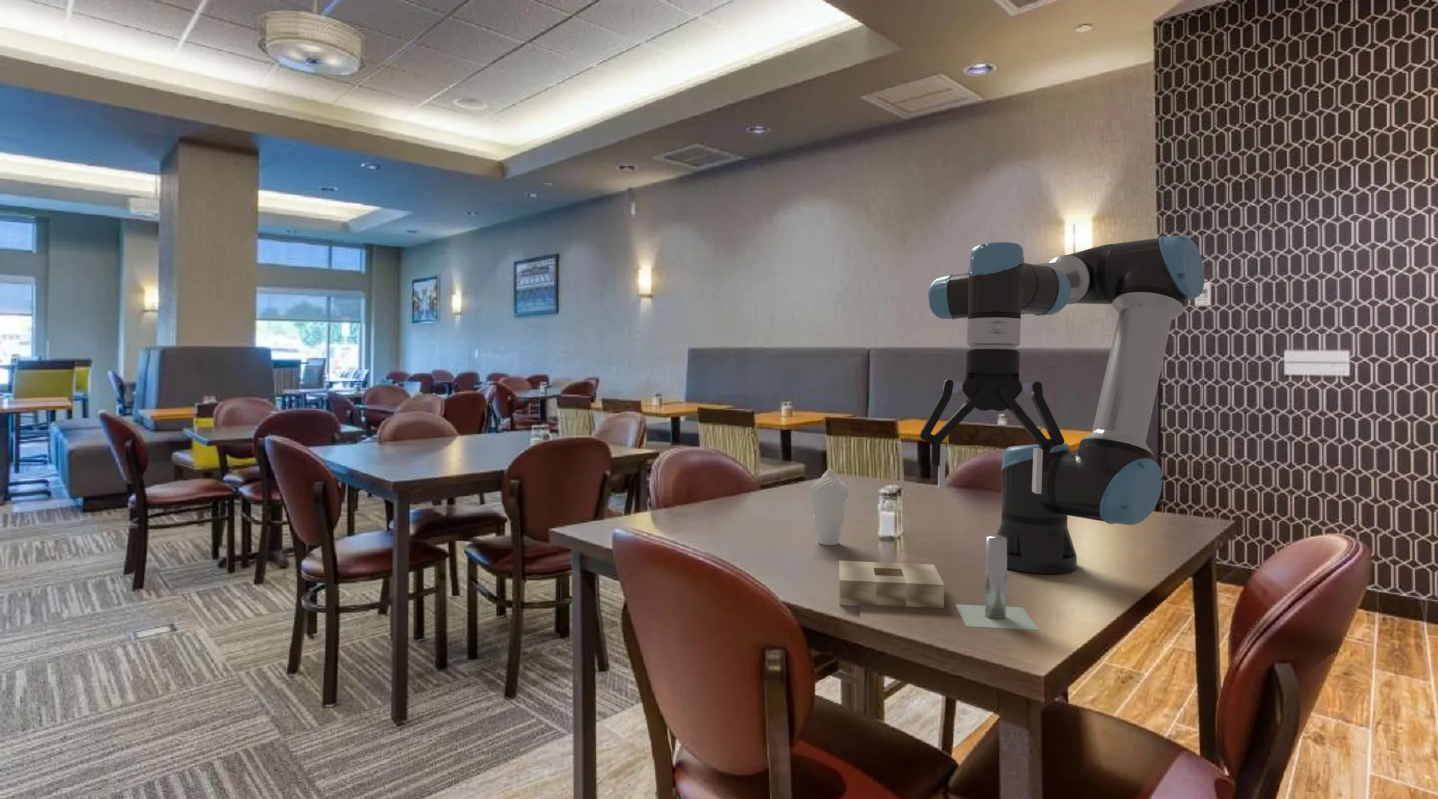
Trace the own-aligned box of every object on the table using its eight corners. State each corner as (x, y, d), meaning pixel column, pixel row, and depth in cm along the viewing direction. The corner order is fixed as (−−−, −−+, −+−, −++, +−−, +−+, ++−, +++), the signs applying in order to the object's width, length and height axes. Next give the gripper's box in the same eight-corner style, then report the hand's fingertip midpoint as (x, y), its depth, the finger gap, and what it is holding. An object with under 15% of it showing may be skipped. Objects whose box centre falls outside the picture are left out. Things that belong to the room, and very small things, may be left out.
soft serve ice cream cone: (838, 549, 153) (838, 472, 153) (802, 544, 158) (802, 469, 157) (854, 541, 160) (854, 468, 160) (819, 536, 165) (819, 465, 164)
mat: (1021, 610, 115) (1021, 607, 115) (1039, 632, 105) (1039, 629, 105) (955, 606, 116) (955, 604, 116) (966, 628, 107) (966, 626, 107)
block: (933, 587, 127) (933, 564, 126) (943, 610, 115) (944, 584, 115) (838, 583, 129) (839, 560, 129) (839, 605, 117) (839, 580, 117)
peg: (1003, 613, 112) (1004, 535, 112) (1008, 620, 109) (1009, 539, 109) (982, 612, 112) (984, 534, 112) (986, 619, 110) (988, 538, 109)
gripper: (908, 346, 109) (903, 489, 110) (1090, 348, 104) (1084, 498, 105) (905, 348, 117) (901, 482, 117) (1076, 350, 112) (1071, 491, 112)
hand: (988, 490), depth 111 cm, fingers open, 13 cm apart
